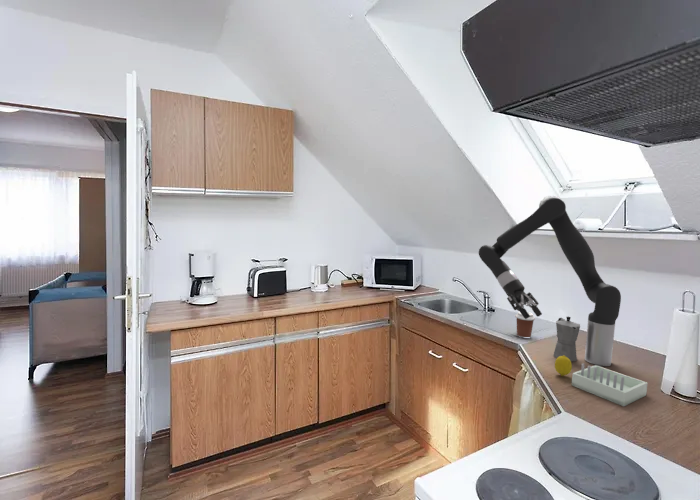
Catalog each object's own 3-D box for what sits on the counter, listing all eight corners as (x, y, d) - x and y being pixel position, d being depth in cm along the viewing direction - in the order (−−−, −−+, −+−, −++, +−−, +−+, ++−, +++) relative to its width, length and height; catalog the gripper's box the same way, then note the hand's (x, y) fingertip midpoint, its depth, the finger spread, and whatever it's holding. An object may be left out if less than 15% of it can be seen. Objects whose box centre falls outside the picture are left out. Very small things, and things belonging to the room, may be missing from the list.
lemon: (561, 379, 131) (563, 358, 130) (550, 373, 136) (552, 353, 136) (574, 378, 132) (576, 358, 131) (562, 372, 137) (564, 352, 137)
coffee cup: (537, 338, 177) (539, 315, 176) (522, 339, 175) (524, 315, 174) (525, 333, 186) (526, 310, 184) (509, 333, 183) (511, 311, 182)
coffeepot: (584, 364, 146) (588, 321, 144) (559, 362, 147) (563, 320, 146) (567, 350, 161) (570, 312, 159) (545, 349, 162) (548, 310, 161)
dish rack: (594, 376, 134) (596, 355, 134) (646, 395, 121) (648, 372, 120) (571, 385, 126) (573, 363, 126) (623, 406, 113) (626, 381, 112)
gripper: (506, 279, 145) (530, 313, 137) (526, 277, 153) (550, 310, 144) (494, 289, 150) (516, 323, 142) (514, 287, 158) (537, 319, 149)
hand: (533, 316), depth 143 cm, fingers open, 8 cm apart
